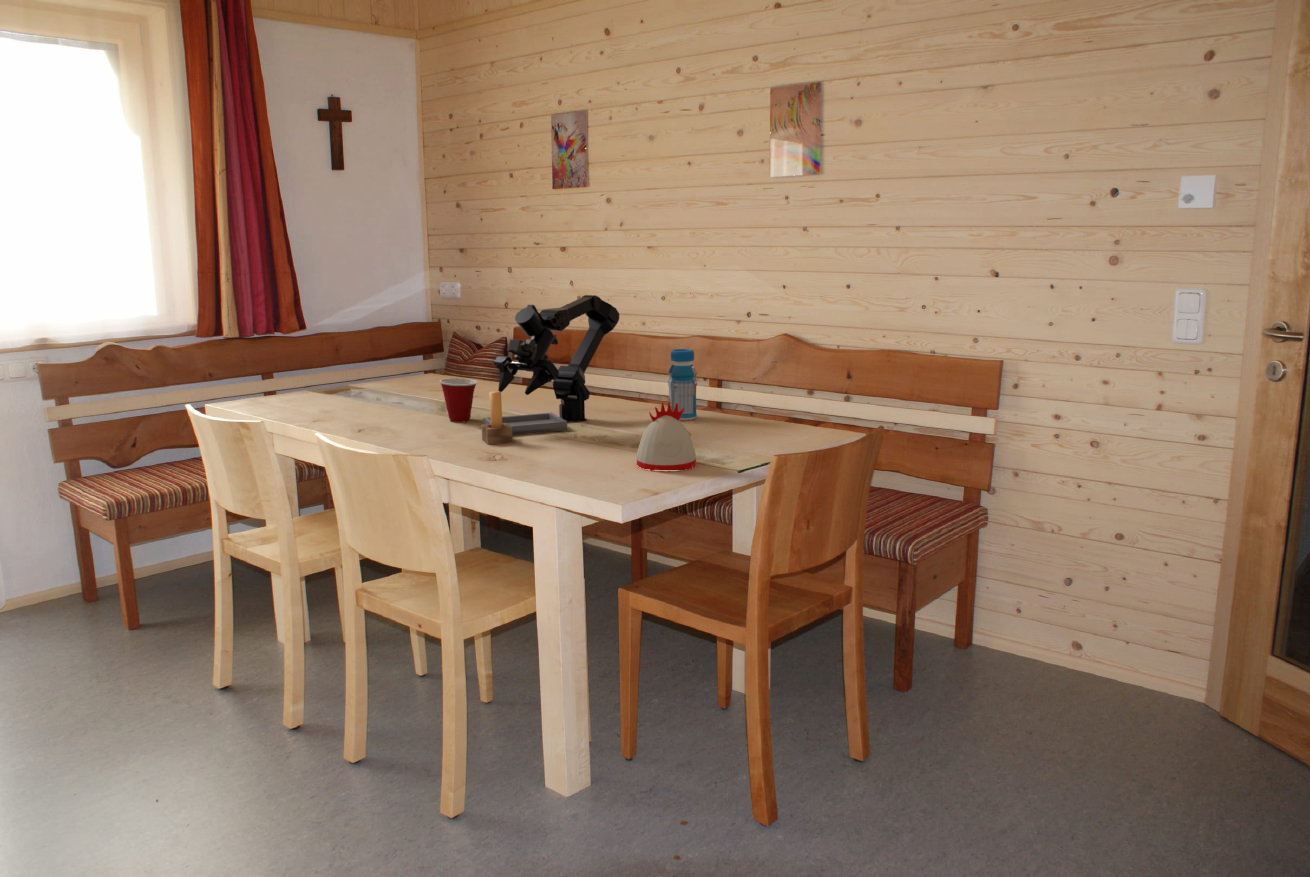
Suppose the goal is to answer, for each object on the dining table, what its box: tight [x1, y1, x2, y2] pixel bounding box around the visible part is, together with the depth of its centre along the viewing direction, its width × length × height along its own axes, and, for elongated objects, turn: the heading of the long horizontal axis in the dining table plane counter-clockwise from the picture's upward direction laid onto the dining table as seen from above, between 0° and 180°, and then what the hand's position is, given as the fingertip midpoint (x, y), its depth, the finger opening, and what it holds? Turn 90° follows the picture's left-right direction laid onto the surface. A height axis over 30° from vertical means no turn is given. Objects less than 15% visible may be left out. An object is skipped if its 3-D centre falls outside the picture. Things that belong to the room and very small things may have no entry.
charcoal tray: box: [482, 412, 568, 436], centre depth 272 cm, size 20×15×2 cm
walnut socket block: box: [481, 423, 514, 445], centre depth 256 cm, size 7×7×4 cm
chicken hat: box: [636, 401, 697, 471], centre depth 227 cm, size 14×14×15 cm
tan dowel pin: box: [488, 390, 503, 428], centre depth 255 cm, size 3×3×13 cm
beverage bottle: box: [667, 348, 698, 421], centre depth 283 cm, size 8×8×20 cm
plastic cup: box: [439, 377, 478, 423], centre depth 284 cm, size 11×11×12 cm
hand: (512, 392), depth 259 cm, fingers open, 9 cm apart
